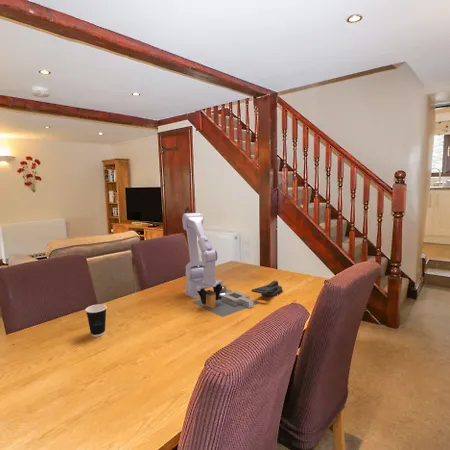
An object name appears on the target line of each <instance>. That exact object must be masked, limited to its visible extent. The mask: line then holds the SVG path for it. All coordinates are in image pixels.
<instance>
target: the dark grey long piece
mask: <svg viewBox="0 0 450 450" xmlns="http://www.w3.org/2000/svg"><path fill="white" fill-rule="evenodd" d="M251 292H253V293H256V294H257V293H258V294H260V295H261V296H263V297H265V298H266V297H267V298H273V297H276V296H278V295H279V293H280V292H281V293H283V287H282V286H281V285H279V280H273V281H270V283H268V284H266V285H262V286H259V287H256V288H252V289H251ZM281 293H280V294H281ZM277 294H278V295H277Z"/></svg>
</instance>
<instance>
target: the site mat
mask: <svg viewBox="0 0 450 450" xmlns="http://www.w3.org/2000/svg"><path fill="white" fill-rule="evenodd" d="M191 303H192V304H193V305H197V306H198V307H200V308H202V309H205V310H207V311H209V312H211V313H213V314H216V315H217V316H220V317H221V318H224V317H227V316H229V315H232V314H235V313H238V312H240V311H243V310H245V309H248V308H247V307H244V306H242V305H238V306H235V307H234V306H232V305H230V304H227V303H225V302H223V301H221V297H219V298H218V300H216V306H215V307H212V308H210V307H208V306H206V305H205V304H202V301H201V298H200V299H197V300H194V301H192V302H191ZM255 305H260V303H259V302H258V301H255V300H253V307H254V306H255Z"/></svg>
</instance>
